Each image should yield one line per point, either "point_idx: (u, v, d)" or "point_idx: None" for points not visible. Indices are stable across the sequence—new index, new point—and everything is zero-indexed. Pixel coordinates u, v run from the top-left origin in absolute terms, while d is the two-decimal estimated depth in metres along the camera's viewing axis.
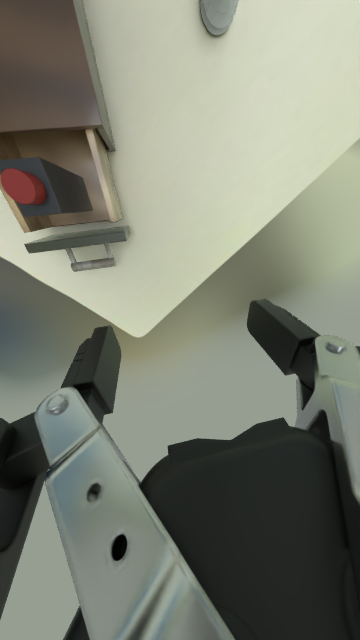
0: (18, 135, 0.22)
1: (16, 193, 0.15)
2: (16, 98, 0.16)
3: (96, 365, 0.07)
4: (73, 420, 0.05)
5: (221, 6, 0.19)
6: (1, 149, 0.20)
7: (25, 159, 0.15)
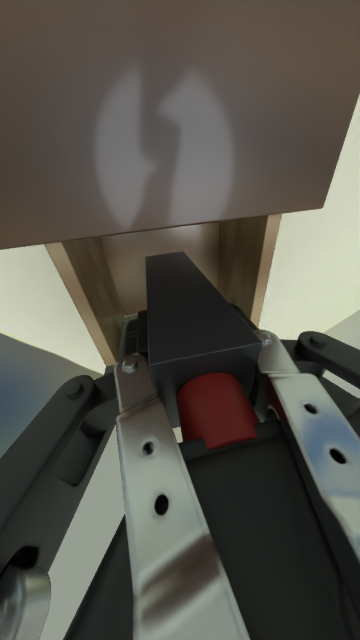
0: None
1: None
2: (169, 164, 0.06)
3: None
4: (139, 382, 0.06)
5: None
6: None
7: (227, 351, 0.05)
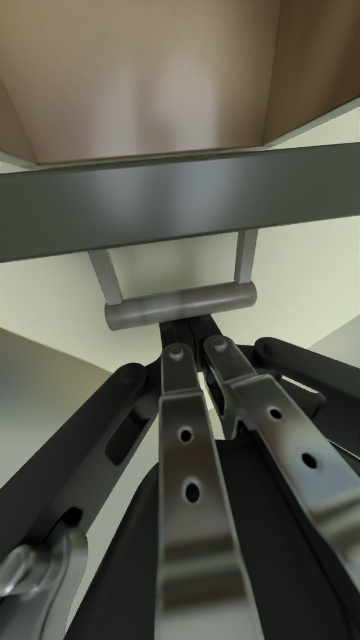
0: None
1: None
2: None
3: (189, 329, 0.08)
4: (183, 371, 0.06)
5: None
6: None
7: None
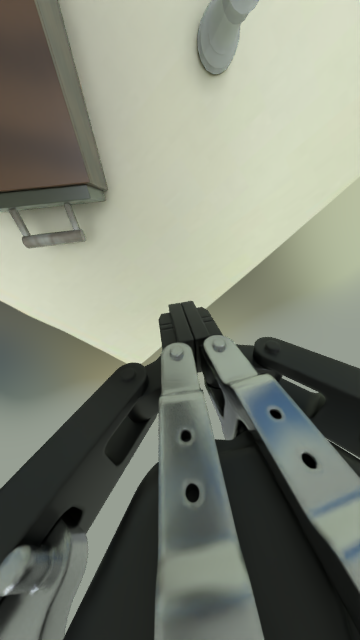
0: None
1: None
2: None
3: (189, 329, 0.08)
4: (183, 371, 0.06)
5: (220, 48, 0.18)
6: None
7: None
